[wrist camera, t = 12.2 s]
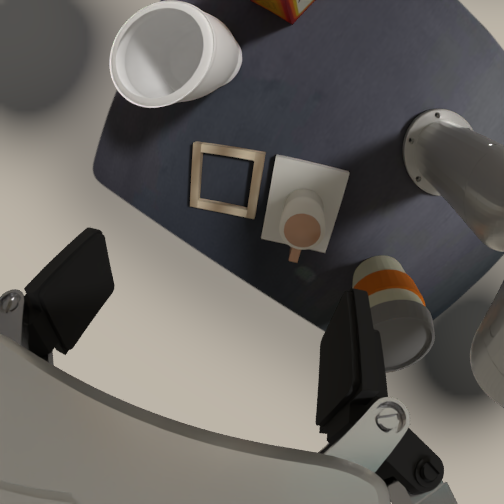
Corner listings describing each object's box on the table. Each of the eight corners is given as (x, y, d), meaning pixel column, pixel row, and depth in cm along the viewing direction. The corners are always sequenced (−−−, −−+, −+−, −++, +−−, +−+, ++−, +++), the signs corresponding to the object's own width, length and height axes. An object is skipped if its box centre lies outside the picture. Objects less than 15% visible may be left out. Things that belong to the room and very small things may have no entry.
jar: (211, 111, 35) (159, 131, 23) (161, 66, 32) (91, 69, 20) (268, 57, 29) (241, 41, 17) (212, 11, 26) (158, -19, 14)
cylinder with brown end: (288, 184, 38) (283, 205, 32) (328, 194, 37) (331, 216, 32) (277, 235, 43) (271, 263, 37) (313, 244, 42) (313, 272, 37)
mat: (348, 171, 36) (349, 173, 35) (324, 249, 43) (325, 252, 43) (276, 154, 37) (275, 156, 36) (262, 235, 44) (261, 238, 43)
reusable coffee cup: (328, 288, 48) (328, 360, 35) (370, 232, 40) (389, 301, 28) (383, 313, 48) (393, 380, 36) (426, 265, 41) (453, 332, 29)
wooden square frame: (265, 152, 37) (264, 154, 36) (255, 216, 43) (254, 219, 42) (195, 141, 38) (193, 142, 37) (192, 203, 43) (189, 206, 42)
